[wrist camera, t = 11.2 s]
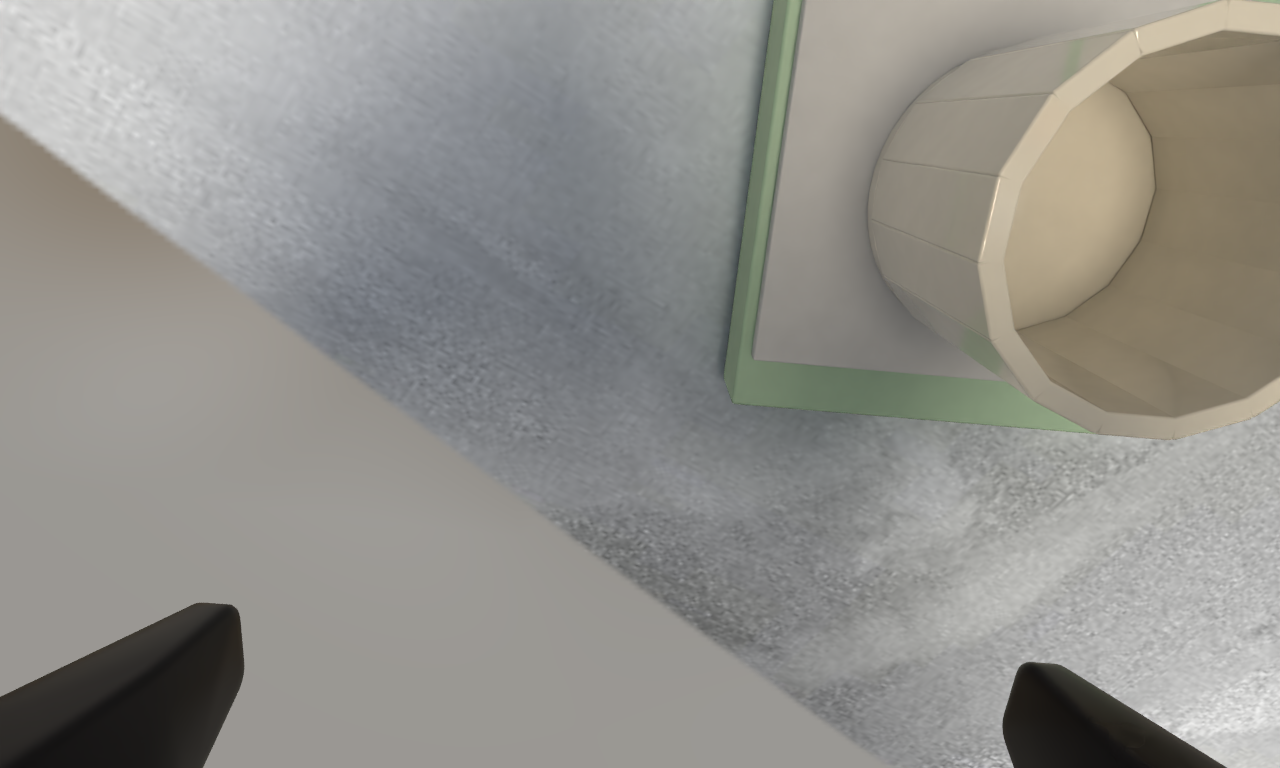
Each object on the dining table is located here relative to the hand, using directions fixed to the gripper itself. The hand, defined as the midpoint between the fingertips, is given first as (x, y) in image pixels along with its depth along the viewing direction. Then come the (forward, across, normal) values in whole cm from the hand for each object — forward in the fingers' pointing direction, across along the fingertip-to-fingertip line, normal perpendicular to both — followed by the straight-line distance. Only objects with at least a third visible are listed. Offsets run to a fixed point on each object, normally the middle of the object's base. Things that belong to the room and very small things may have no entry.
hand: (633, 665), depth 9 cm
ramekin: (+10, -8, -5) cm, 14 cm away
